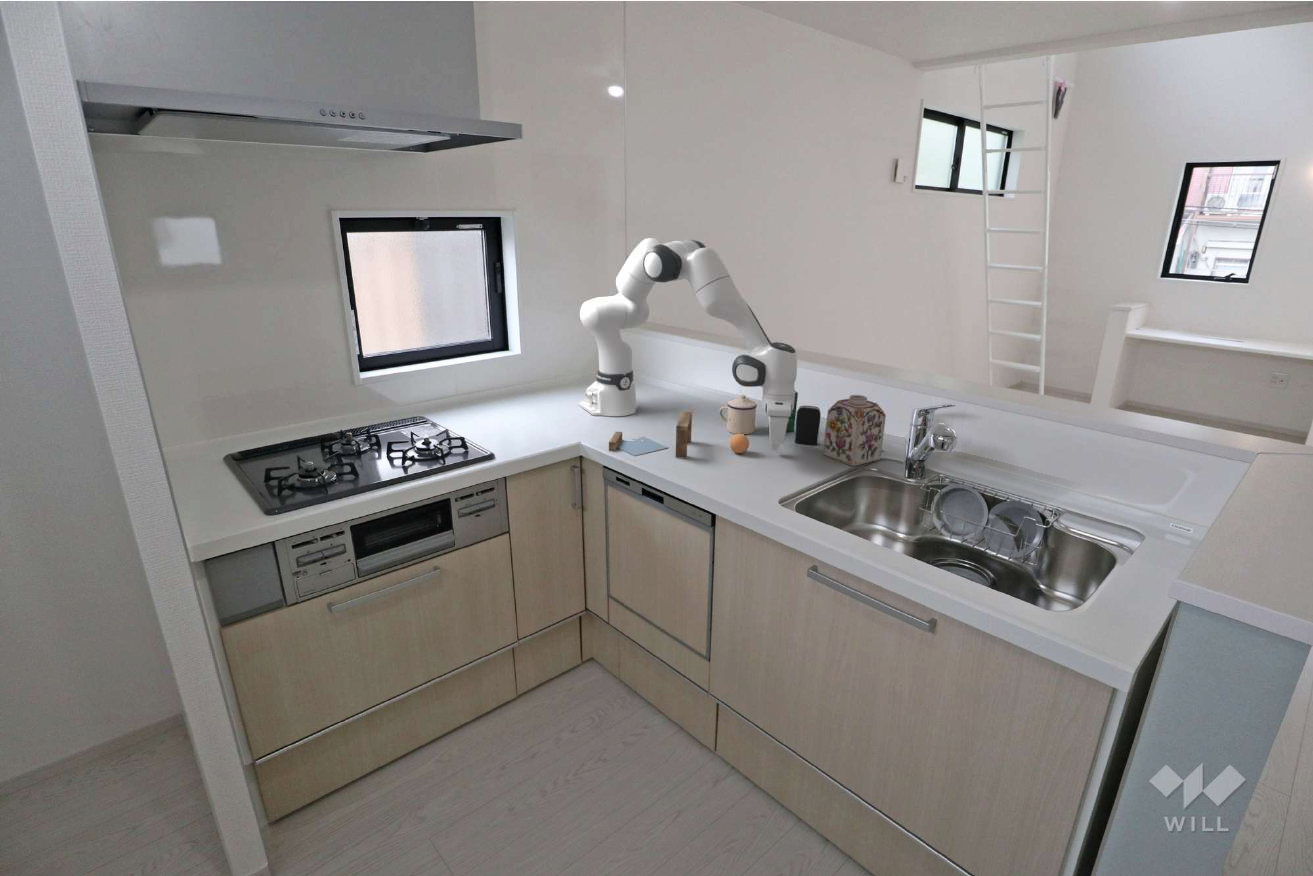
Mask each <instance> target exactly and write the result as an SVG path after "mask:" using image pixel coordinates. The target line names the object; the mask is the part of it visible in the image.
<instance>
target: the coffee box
mask: <svg viewBox="0 0 1313 876" xmlns="http://www.w3.org/2000/svg"><path fill="white" fill-rule="evenodd" d="M798 393H799V392H797V391H796V390H795V400H794V409H793V410H792V412H791V416H790V417H788V423H787V429H786V433H794V432H795V428H796V415H797V407H798V406H797V405H798V397H799V394H798ZM767 430H768V431H767V432H769V424H768V428H767Z"/></svg>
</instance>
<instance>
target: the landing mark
mask: <svg viewBox="0 0 1313 876" xmlns="http://www.w3.org/2000/svg"><path fill="white" fill-rule="evenodd" d="M637 438H638V439H636V438H632V439H631V440H635V441H627V440H622V441H621V442H620V444H619V446H618V447H617V449H619V450H620V451H623V452H624V453H625V452H626V453H628V454H629V455H631V456H634V457H637V455H638V456H641V454H642V455H645V454H644V453H646V454H650V453H654V452H658V451H657V450H659V451H663V450H667V449H669V447H668V446H665V445H663V444H661V443H659V442H656V441H654V440H652V439H650V438H647V437H645V436H641V437H637ZM641 440H643V441H641ZM666 448H667V449H666ZM649 452H650V453H649Z"/></svg>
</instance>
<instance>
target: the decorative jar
mask: <svg viewBox="0 0 1313 876" xmlns="http://www.w3.org/2000/svg"><path fill="white" fill-rule="evenodd" d="M848 397H849V398H845V399H838V400H837V401H836V402H835V403H834V404H833V405H832V406H831V407H830V408H828V410H827V416H826V423H825V431H824V439H823V455H824V456H826V457H827V458H831V459H833V460H836V461H839V462H840V463H843V464H846V465H848V466H851V467H857V466H862V465H864V464H865V463H866V464H868V463H872V461H873V462H876V461H880V459H881V456H882V451H883V445H884V444H883V442H884V434H885V427H886V417H887V416H886V415H887V414H886V413H885V411H884V410H883V409H882V408H881V406H880V405H879V404H878V403H877V402H873V401H870V400H868V397H867V396H865V395H862V394H851V395H849V396H848Z"/></svg>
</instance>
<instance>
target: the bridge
mask: <svg viewBox="0 0 1313 876" xmlns="http://www.w3.org/2000/svg"><path fill="white" fill-rule="evenodd" d="M692 421H693V411H684V410H682V411H681V413H680V415H679V418H678V420H677V424H676V425H675V427H676V429H675V432H676V433H675V458H676V457H683V458H682V459H686V458H687V456H688V443H692V425H693V424H692Z"/></svg>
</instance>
